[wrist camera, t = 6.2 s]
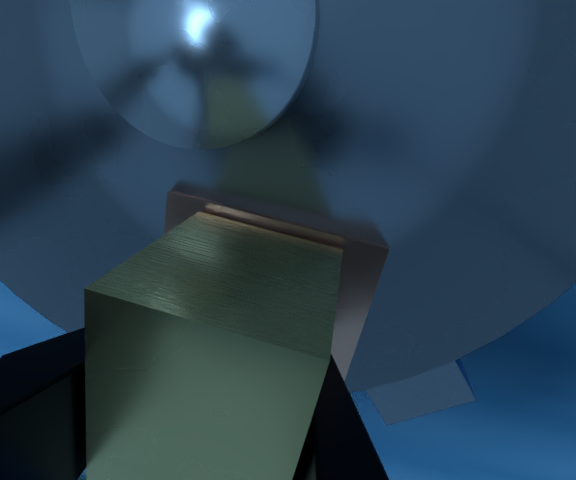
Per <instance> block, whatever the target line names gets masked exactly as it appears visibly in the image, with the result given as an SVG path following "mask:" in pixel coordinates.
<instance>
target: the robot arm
mask: <svg viewBox="0 0 576 480" xmlns="http://www.w3.org/2000/svg"><path fill="white" fill-rule="evenodd" d="M85 468H86V401H85V327H84V328H81V329H78V330H75V331H72V332H69V333H66V334H64V335H61V336H58V337H55V338H52V339H49V340H46V341H43V342H40V343H37V344H35V345H32V346H29V347H26V348H23V349H20V350H17V351H14V352H11V353H8V354H5V355H3V356H1V358H0V480H77V479H78V478H79V476H80V475H81V474H82V472H83V471H84V469H85ZM292 480H389V478H388V476H387V474H386V472H385V470H384V467H383V465H382V463H381V461H380V459H379V456H378V454H377V452H376V450H375V448H374V445H373V443H372V441H371V439H370V437H369V435H368V432H367V430H366V428H365V426H364V424H363V421H362V419H361V417H360V415H359V413H358V411H357V408H356V406H355V404H354V402H353V400H352V397H351V395H350V393H349V391H348V389H347V386H346V384H345V382H344V380H343V378H342V376H341V373H340V371H339V369H338V367H337V365H336V362H335V360H334V358H333V356H332V354H331V355H330V362H329V365H328V368H327V371H326V375H325V378H324V381H323V384H322V387H321V390H320V394H319V397H318V400H317V403H316V406H315V409H314V413H313V416H312V419H311V422H310V425H309V428H308V432H307V435H306V438H305V441H304V444H303V447H302V450H301V454H300V457H299V460H298V463H297V466H296V469H295V473H294V476H293V479H292Z"/></svg>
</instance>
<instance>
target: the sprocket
mask: <svg viewBox="0 0 576 480" xmlns="http://www.w3.org/2000/svg"><path fill="white" fill-rule="evenodd" d="M197 212H203V213H206V214H210V215H214V216H218V217H221V218H225V219H229V220H233V221H237V222H240V223H244V224H248V225H252V226H256V227H259V228H263V229H267V230H271V231H275V232H278V233H282V234H286V235H290V236H294V237H297V238H301V239H305V240H309V241H312V242H316V243H320V244H324V245H328V246H331V247H335V248H339V249H343V253H342V262H341V270H340V279H339V287H338V296H337V304H336V313H335V321H334V330H333V338H332V347H331V354H332V356H333V358H334V360H335V362H336V365H337V367H338V369H339V371H340V373H341V376H342V378H343V380H344V382H345V384H346V386H347V389H348V391H349V392H355V391H362V390H365V391H366V393H367V394H368V396H369V397H370V399H371V401H372V402H373V404H374V405H375V407H376V409H377V410H378V412H379V413H380V415H381V417H382V418H383V420H384V422H385V423H386V425H390V424H394V423H397V422H401V421H405V420H408V419H412V418H415V417H419V416H422V415H426V414H430V413H433V412H437V411H440V410H444V409H447V408H451V407H455V406H458V405H462V404H465V403H469V402H472V401H476V398H475V396H474V393H473V391H472V388H471V385H470V383H469V380H468V378H467V375H466V373H465V370H464V367H463V365H462V362H461V360H460V358H461V357H463V356H465V355H467V354H469V353H471V352H473V351H475V350H477V349H479V348H480V347H482V346H484V345H486V344H488V343H490V342H492V341H494V340H496V339H498V338H500V337H502V336H503V335H505V334H506V333H508V332H509V331H511V330H512V329H514V328H515V327H517V326H518V325H520V324H521V323H523V322H524V321H526V320H527V319H529V318H530V317H532V316H533V315H535V314H536V313H538V312H539V311H541V310H542V309H544V308H545V307H547V306H548V305H550V304H551V303H552V302H553V301H554V300H556V299H557V298H558V297H559V296H560V295H562V294H563V293H564V292H565V291H566V290H567V289H569V288H570V287H571V286H572V285H573V284H575V283H576V0H0V281H2V282H3V283H4V284H5V285H6V286H7V287H8V288H9V289H10V290H11V291H12V292H13V293H14V294H16V295H17V296H18V297H19V298H21V299H22V300H23V301H25V302H26V303H27V304H28V305H30V306H31V307H32V308H34V309H35V310H36V311H37V312H39V313H40V314H41V315H43V316H44V317H45V318H46V319H48V320H49V321H51V322H52V323H54V324H55V325H57V326H58V327H60V328H61V329H63V330H65V331H66V332H68V333H69V332H72V331H75V330H78V329H81V328H84V327H85V326H84V288H85V287H87V286H88V285H90V284H91V283H93V282H94V281H96V280H97V279H99V278H100V277H102V276H103V275H105V274H106V273H108V272H109V271H111V270H112V269H114V268H115V267H117V266H118V265H120V264H121V263H123V262H124V261H126V260H127V259H129V258H130V257H132V256H133V255H135V254H136V253H138V252H139V251H141V250H142V249H144V248H145V247H147V246H148V245H150V244H151V243H152V242H154V241H155V240H157V239H158V238H160V237H161V236H163V235H164V234H166V233H167V232H169V231H170V230H172V229H173V228H175V227H176V226H178V225H179V224H181V223H182V222H184V221H185V220H187V219H188V218H190V217H191V216H193V215H194V214H196V213H197Z"/></svg>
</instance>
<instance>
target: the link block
mask: <svg viewBox="0 0 576 480" xmlns="http://www.w3.org/2000/svg"><path fill="white" fill-rule="evenodd" d="M342 253H343V249H339V248H335V247H331V246H328V245H324V244H320V243H316V242H312V241H309V240H305V239H301V238H297V237H294V236H290V235H286V234H282V233H278V232H275V231H271V230H267V229H263V228H259V227H256V226H252V225H248V224H244V223H240V222H237V221H233V220H229V219H225V218H221V217H218V216H214V215H210V214H206V213H203V212H197V213H196V214H194V215H193V216H191V217H190V218H188V219H187V220H185V221H184V222H182V223H181V224H179V225H178V226H176V227H175V228H173V229H172V230H170V231H169V232H167V233H166V234H164V235H163V236H161V237H160V238H158V239H157V240H155V241H154V242H152V243H151V244H150V245H148V246H147V247H145V248H144V249H142V250H141V251H139V252H138V253H136V254H135V255H133V256H132V257H130V258H129V259H127V260H126V261H124V262H123V263H121V264H120V265H118V266H117V267H115V268H114V269H112V270H111V271H109V272H108V273H106V274H105V275H103V276H102V277H100V278H99V279H97V280H96V281H94V282H93V283H91V284H90V285H88V286H87V287H85V288H84V326H85V401H86V476H87V480H292V479H293V476H294V473H295V469H296V466H297V463H298V460H299V457H300V454H301V450H302V447H303V444H304V441H305V438H306V435H307V432H308V428H309V425H310V422H311V419H312V416H313V413H314V409H315V406H316V403H317V400H318V397H319V394H320V390H321V387H322V384H323V381H324V378H325V375H326V371H327V368H328V365H329V362H330V355H331V347H332V338H333V330H334V321H335V313H336V304H337V296H338V287H339V279H340V270H341V262H342Z"/></svg>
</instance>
